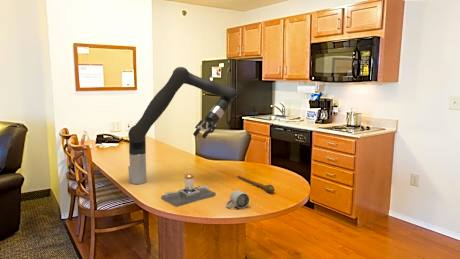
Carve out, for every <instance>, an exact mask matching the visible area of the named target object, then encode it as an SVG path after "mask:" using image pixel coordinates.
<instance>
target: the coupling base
mask: <svg viewBox="0 0 460 259" xmlns="http://www.w3.org/2000/svg"><path fill="white" fill-rule="evenodd" d="M209 189H210V188H209V185H208V184H207V185H203V186H199V185H198V186H195V187H193V192H190V193H186V192H185V188H181V189H177V190H176V191H175V190H174V191H167V192H164V193H165V194H163V195H161V199H162V200H163V201H165V202H168V203H169V204H171V205H173V206H175V207H179V206H183V205H186V204H190V203H194V202H197V201H201V200H204V199H208V198H211V197H214V196H216V192H215V191H212V190H209Z"/></svg>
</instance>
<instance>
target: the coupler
mask: <svg viewBox="0 0 460 259" xmlns="http://www.w3.org/2000/svg"><path fill="white" fill-rule="evenodd" d="M194 177H195V174H193V173H186V174H184V189H185V192H186V193H190V192H193V188H194V179H195V178H194Z"/></svg>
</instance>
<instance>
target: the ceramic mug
mask: <svg viewBox="0 0 460 259" xmlns="http://www.w3.org/2000/svg"><path fill="white" fill-rule="evenodd" d="M229 196H230V199H229V200H228V201H227V202H226V204H225V205H226V208H227V209H234V208H235V207H237V208H238V209H245V208H247V207H248V205H249V204H250V197H249V195H248V194H247V193H245V192H243V191H241V190H237V189H236V190H234V191H232V192H231V194H230V195H229Z"/></svg>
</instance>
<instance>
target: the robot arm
mask: <svg viewBox="0 0 460 259" xmlns="http://www.w3.org/2000/svg"><path fill="white" fill-rule="evenodd" d="M169 77H170V78H169V79H168V81H167V82H166V83H165V84H164V86H163V87H162V88H161V89H160V90H159V91H158V92H156V94H155V95H154V96H153V98H152V99H151V101H150V102H149V103H148V105H147V106H146V109H145V110H144V112H143V114H142V115H141V117H140V119H139V120H138V121H137V123H135V124H134V125H133V126H131V127H130V129H129V130H128V133H127V134H128V135H127V136H128V144H129V145H128V147H129V149H128V153H129V154H128V155H129V165H128V183H130V184H133V185H141V184H145V183H146V182H148V181H147V157H146V156H147V146H146V136H147V134H148V132H149V131H150V129H151V128H152V126H153V125H154V124H155V123H156V122H157V121H158V119H159V118H160V117H161V116H162V114H163V113H164V112H165V111H166V109H167V108H168V106H169V105H170V104H171V102H172V100H173V99H174V97H175V95H176V94H177V93H178V91H179V89H181V88H182V86H183V85H184V84H185V85H188V86H191V87H195V88H197V89H200V90H201V91H204V92H206V93H208V94H211V95H214V96H220V97H219V100H218V101H216V103H215V105H214V106H213V107H212V108H211V109H210V110H209V111H208V113H207V114H206V115H205V120H204V121H203V120H202V119H200V120H199V122H198V123H197V124H196V125H195V129H196V130H194V132H193V133H192V135H193V136H194V137H197V136H198V134H199V133H200V132H201V131H204V130H205V131H204V132H203V134H202V135H201V137H202V139H206V138H207V137H208V135H210V134H213V133H214V132H215V130H216V128H217V127H218V122H219V121H220V120H221V118H222V117H223V116H224V113H225V112H226V110H227V109H228V108H229V105H230V104H231V103H233V101H234V100H235V99H237V96H238V93H239V92H238V91H237V89H235V88H234V87H232V86H229V85H225V84H220V83H218V82H215V81H213V80H209V79H207V78H204V77H200V76H197V75H196V74H193V73H192V72H189V71H188V69H187V68H186V67H183V66H178V67H176V68H175V69H173V71H172V74H171V76H169Z"/></svg>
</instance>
